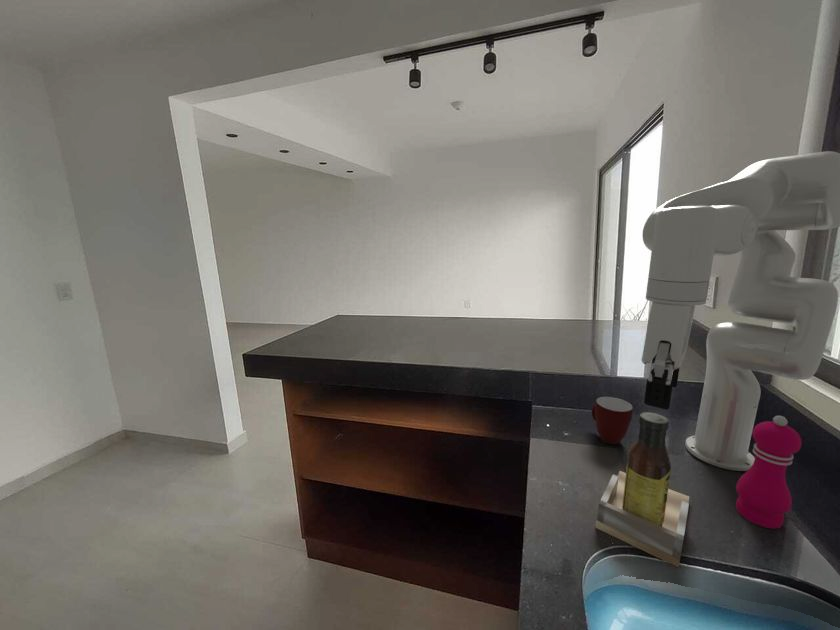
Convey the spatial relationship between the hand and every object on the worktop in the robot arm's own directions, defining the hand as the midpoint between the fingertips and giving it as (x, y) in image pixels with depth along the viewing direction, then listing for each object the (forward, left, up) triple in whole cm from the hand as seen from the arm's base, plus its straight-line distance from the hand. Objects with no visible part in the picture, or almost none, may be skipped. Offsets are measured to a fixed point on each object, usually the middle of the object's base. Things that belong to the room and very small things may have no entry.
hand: (661, 395), depth 57 cm
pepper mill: (-16, +16, -25) cm, 34 cm away
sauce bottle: (+1, 0, -24) cm, 24 cm away
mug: (-26, -12, -25) cm, 38 cm away
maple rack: (-3, 0, -25) cm, 25 cm away
